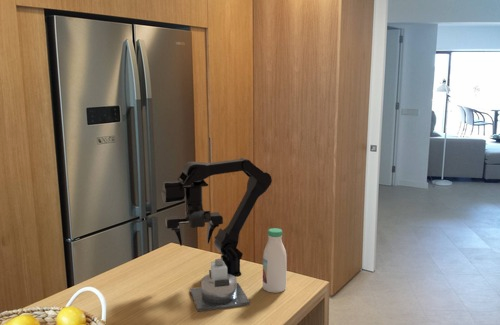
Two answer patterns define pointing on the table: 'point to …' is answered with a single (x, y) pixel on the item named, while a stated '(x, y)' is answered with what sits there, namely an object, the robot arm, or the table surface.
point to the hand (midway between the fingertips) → (194, 244)
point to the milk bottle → (274, 263)
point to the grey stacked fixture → (218, 294)
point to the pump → (218, 270)
